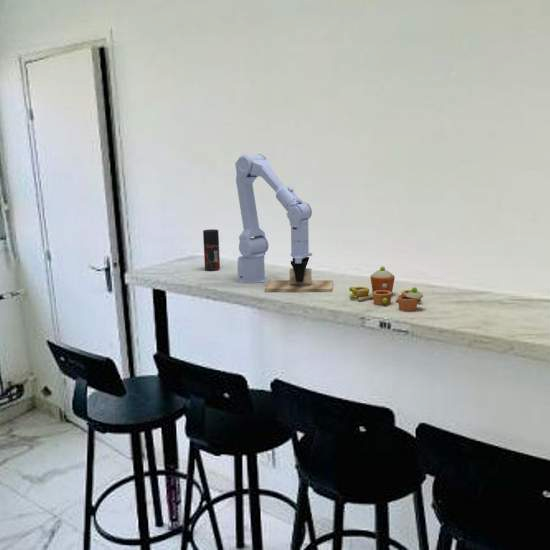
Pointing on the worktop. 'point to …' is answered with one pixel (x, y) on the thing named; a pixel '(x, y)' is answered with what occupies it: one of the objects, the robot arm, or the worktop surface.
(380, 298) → the toy tea set
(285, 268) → the worktop surface
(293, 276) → the block
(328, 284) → the board
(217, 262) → the deodorant
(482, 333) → the worktop surface
